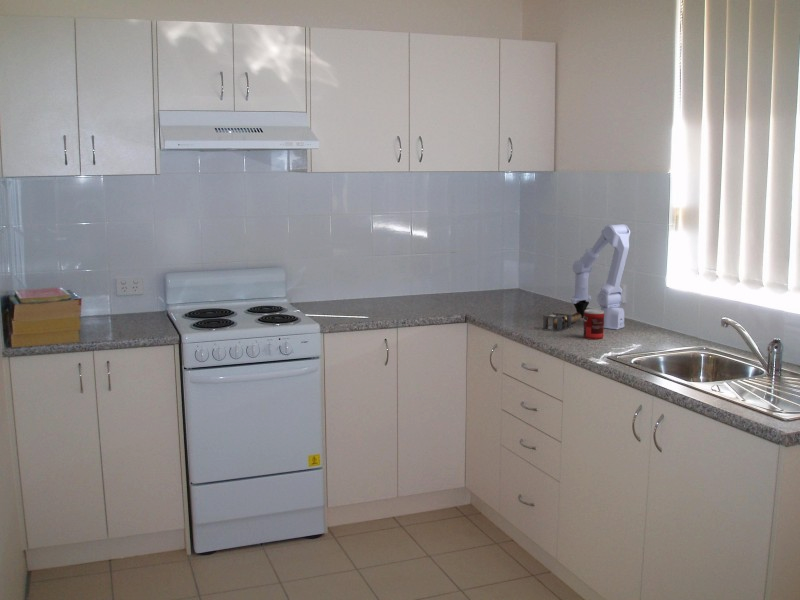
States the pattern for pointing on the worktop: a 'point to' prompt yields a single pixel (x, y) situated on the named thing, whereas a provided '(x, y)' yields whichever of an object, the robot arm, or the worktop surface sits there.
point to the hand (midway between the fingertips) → (580, 317)
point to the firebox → (559, 322)
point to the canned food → (593, 324)
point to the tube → (575, 317)
